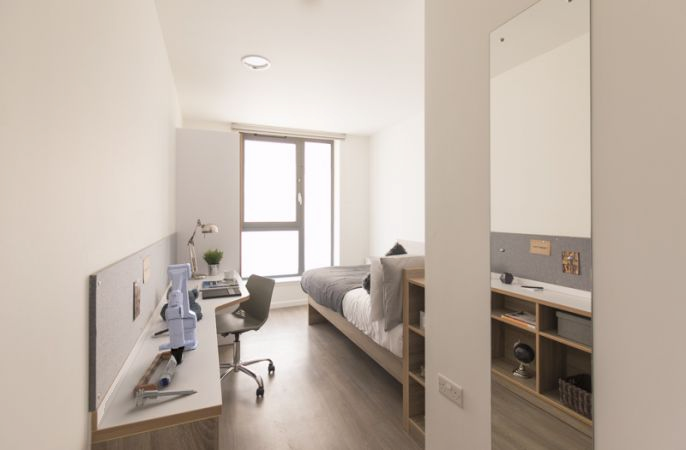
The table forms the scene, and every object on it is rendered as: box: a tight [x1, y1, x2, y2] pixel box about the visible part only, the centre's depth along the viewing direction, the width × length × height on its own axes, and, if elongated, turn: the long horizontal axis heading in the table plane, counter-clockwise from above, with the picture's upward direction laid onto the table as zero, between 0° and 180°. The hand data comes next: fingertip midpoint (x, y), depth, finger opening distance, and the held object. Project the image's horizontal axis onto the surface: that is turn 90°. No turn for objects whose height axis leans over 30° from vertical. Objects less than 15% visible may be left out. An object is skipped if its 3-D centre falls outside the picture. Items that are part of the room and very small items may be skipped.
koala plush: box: [188, 287, 203, 321], centre depth 214 cm, size 17×18×20 cm
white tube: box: [158, 354, 184, 388], centre depth 146 cm, size 5×7×25 cm
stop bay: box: [133, 350, 172, 397], centre depth 145 cm, size 32×8×3 cm, turn 14°
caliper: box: [134, 388, 198, 407], centre depth 125 cm, size 20×1×6 cm, turn 112°
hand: (179, 363), depth 147 cm, fingers closed
